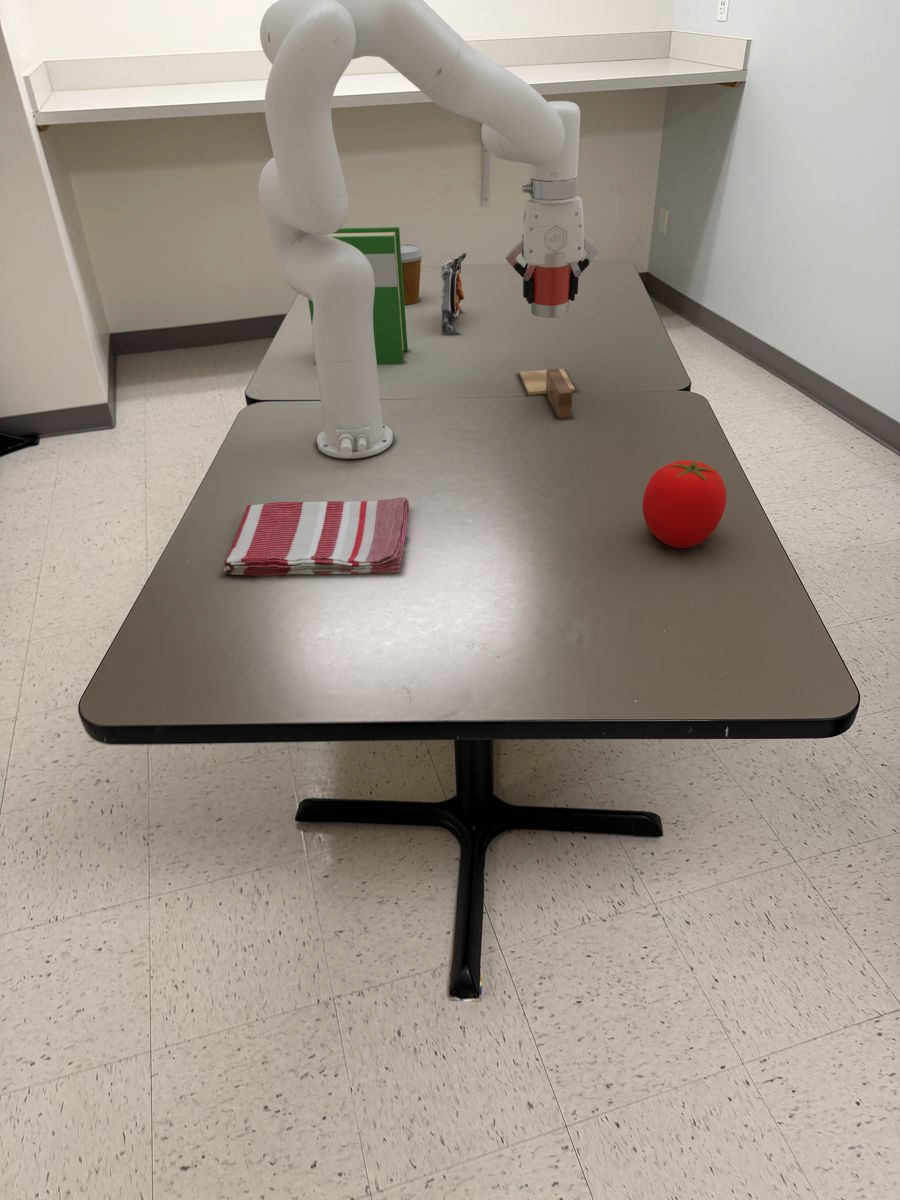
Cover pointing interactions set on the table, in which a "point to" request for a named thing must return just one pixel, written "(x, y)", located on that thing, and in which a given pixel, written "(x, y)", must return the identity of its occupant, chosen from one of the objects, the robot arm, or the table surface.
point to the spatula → (551, 388)
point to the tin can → (551, 287)
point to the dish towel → (320, 538)
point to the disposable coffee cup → (411, 271)
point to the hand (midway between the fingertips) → (550, 299)
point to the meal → (451, 292)
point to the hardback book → (382, 287)
